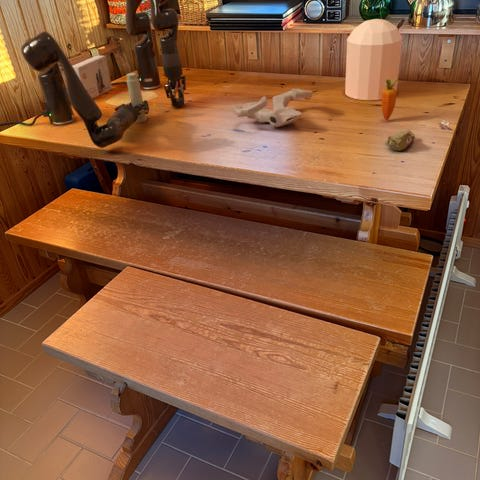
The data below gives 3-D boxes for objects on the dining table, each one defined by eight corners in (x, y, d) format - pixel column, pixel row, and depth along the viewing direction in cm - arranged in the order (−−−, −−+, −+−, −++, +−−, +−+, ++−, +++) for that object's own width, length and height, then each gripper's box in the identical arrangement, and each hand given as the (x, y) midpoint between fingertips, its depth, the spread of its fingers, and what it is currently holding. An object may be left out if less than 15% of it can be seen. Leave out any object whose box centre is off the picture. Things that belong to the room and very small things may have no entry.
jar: (132, 121, 188) (122, 75, 177) (140, 117, 191) (131, 71, 180) (140, 122, 186) (131, 76, 175) (148, 119, 189) (139, 72, 178)
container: (366, 103, 181) (371, 27, 166) (334, 91, 198) (337, 19, 182) (408, 92, 188) (417, 17, 172) (374, 81, 204) (379, 11, 188)
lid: (185, 105, 197) (184, 100, 196) (173, 107, 196) (172, 102, 195) (183, 102, 201) (182, 96, 200) (171, 104, 200) (170, 98, 199)
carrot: (394, 118, 167) (398, 76, 158) (393, 123, 163) (397, 80, 154) (379, 117, 168) (383, 75, 160) (378, 122, 165) (382, 80, 156)
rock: (408, 140, 153) (379, 139, 152) (414, 122, 149) (384, 120, 148) (421, 154, 144) (391, 153, 143) (428, 135, 140) (396, 133, 139)
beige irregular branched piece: (230, 133, 167) (227, 101, 161) (244, 110, 188) (241, 81, 182) (308, 133, 161) (308, 99, 155) (313, 109, 182) (314, 78, 176)
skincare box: (87, 102, 214) (77, 67, 204) (78, 102, 215) (68, 66, 206) (113, 88, 229) (105, 54, 220) (104, 88, 231) (96, 54, 222)
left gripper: (140, 107, 170) (155, 92, 183) (104, 108, 172) (121, 93, 186) (144, 127, 174) (158, 111, 188) (109, 127, 177) (125, 112, 190)
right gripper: (172, 58, 195) (179, 98, 205) (154, 68, 185) (162, 109, 195) (188, 59, 193) (193, 99, 202) (170, 68, 182) (177, 110, 192)
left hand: (139, 102), depth 187 cm, fingers closed on jar, 4 cm apart
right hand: (178, 104), depth 198 cm, fingers open, 5 cm apart
